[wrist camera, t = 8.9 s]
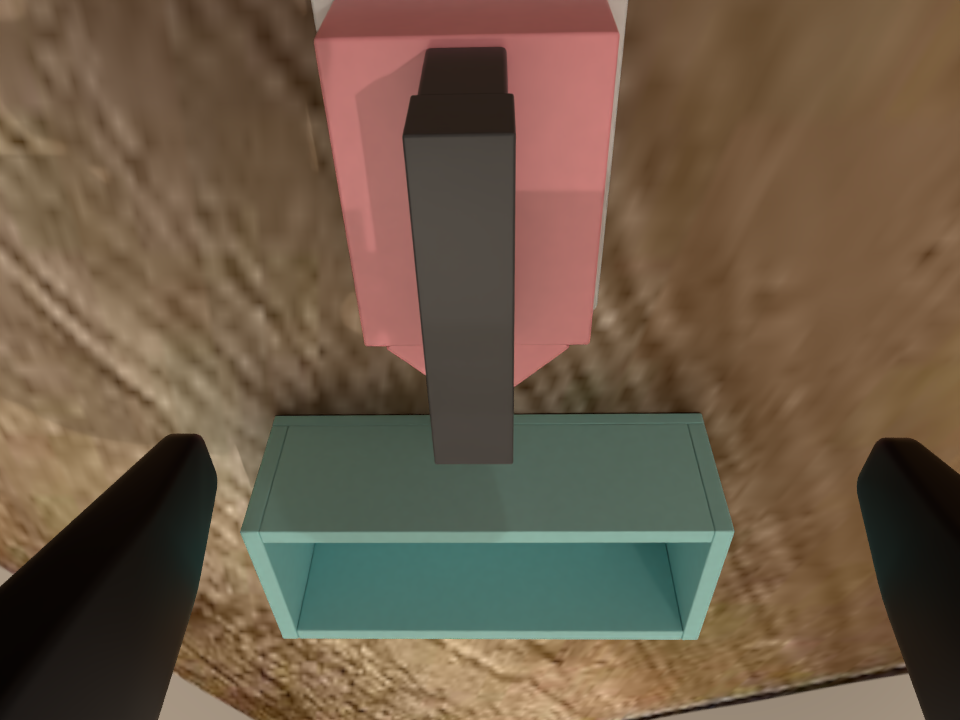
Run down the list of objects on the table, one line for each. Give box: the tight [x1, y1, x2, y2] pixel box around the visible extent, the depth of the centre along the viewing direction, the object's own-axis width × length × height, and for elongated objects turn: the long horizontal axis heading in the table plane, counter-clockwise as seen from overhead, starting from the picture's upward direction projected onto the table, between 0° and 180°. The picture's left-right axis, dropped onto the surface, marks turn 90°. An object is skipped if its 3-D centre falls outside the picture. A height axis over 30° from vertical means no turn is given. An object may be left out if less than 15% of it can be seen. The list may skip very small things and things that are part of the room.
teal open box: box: [240, 413, 734, 640], centre depth 27 cm, size 15×7×5 cm, turn 91°
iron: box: [311, 0, 628, 464], centre depth 18 cm, size 12×7×7 cm, turn 1°
